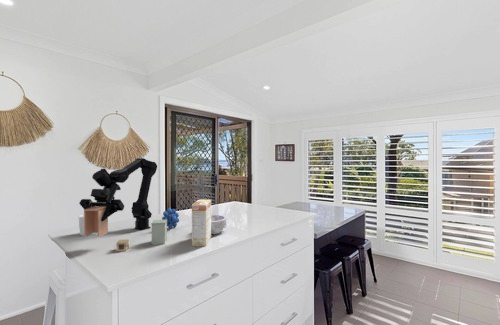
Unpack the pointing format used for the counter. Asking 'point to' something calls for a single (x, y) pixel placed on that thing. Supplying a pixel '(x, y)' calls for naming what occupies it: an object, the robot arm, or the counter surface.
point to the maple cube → (122, 245)
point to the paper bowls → (217, 223)
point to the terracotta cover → (95, 221)
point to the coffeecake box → (201, 222)
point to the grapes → (171, 217)
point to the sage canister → (159, 231)
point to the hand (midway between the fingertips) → (94, 220)
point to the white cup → (82, 225)
